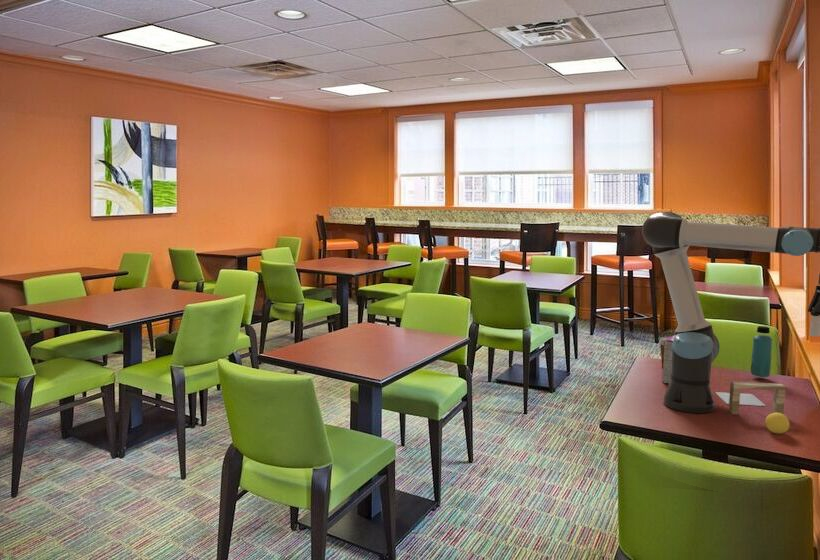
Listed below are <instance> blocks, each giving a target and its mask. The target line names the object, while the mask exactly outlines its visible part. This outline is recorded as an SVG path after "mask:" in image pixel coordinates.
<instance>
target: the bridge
mask: <svg viewBox="0 0 820 560" xmlns="http://www.w3.org/2000/svg"><path fill="white" fill-rule="evenodd" d="M741 389H744V390H745V389H750V390H768V391H774V393H773V402H772V413H781V414H783V415H785V414H784V411H785V403H786V391H787V390H786V389H787V386H786V385H784V384H782V383H771V382H770V383H769V382H749V381H748V382H747V381H731V380H730V387H729V393H730V398H729V404H728V412H729V413H730V414H732V415H739V414H740V413H739V411H740V405H739V402H740V393H741V391H742V390H741Z"/></svg>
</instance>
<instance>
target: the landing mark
mask: <svg viewBox="0 0 820 560" xmlns="http://www.w3.org/2000/svg"><path fill="white" fill-rule="evenodd" d="M714 393H715V394H716V395H717V396H718V397H719V398H720V399H721V400H722V401H723V402H724V403H725V404H726V405H729V398H730V392H723V391H718V392H717V391H715V392H714ZM739 406H753V407H754V406H755V407H757V406H758V407H767V406H766V404H765V403H763V402H762V401H761V400H760V399H758V398H757V397H756V396H755V395H754V394H752V393H741V392H740V402H739Z"/></svg>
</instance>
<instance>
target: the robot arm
mask: <svg viewBox="0 0 820 560" xmlns="http://www.w3.org/2000/svg"><path fill="white" fill-rule="evenodd" d="M641 234H642V237H643V240H644V241H645V243H646V244H647V245H650V246H651V248H652V251H653V252H652V253H653V255H654V256H655V257H656V258H658V259H659V260H660V263H661V268H662V271H663V273H664V277H665V281H666V285H667V288H668V289H667V290H668V292H669V297H670V300H671V303H672V307H673V311H674V313H675V317H676V321H677V324H678V325H677V327H676V328H675V330H674V332H675V335H676V336H675V337H674V341H673V344H672V348H673V352H672V368H671V381H670V383H669V384H668V386H667V388H666V390H665V393H664V395H663V404H664V405H665V406H666V407H668V408H670V409H672V410H675V411H680V412H683V413H684V412H685V413H690V414H708V413H711V412H713V411H714V410H715V400H714V396H713V392H712V389H711V387H710V386H711V385H710V384H711V375H712V374H711V370H712V363H713V362H714V361H715V359H717V357H718V355H719V354H720V353H719V352H720V342H719V339H718V337H717V335H716V334H715V332H714V329H713V326H712V323H711V322H710V321H708V320H706V319H705V315H704V312H703V308H702V305H701V300H700V298H699V294H698V290H697V287H696V284H695V279H694V275H693V272H692V271H693V270H692V269H691V265H690V261H689V257H688V254H687V251H688V250H689V247H692V246H693V247H704V248H705V247H706V248H716V249H728V250H729V249H730V250H737V251H738V250H741V251H749V252H751V251H752V252H763V253H774V254H775V253H777V254H781V255H782V254H783V255H784V254H786V255H790V256H794V257H795V256H796V257H800V256H803V255H805V254H808V253H817V254H818V253H820V227H818V228H817V227H801V226H800V227H799V226H781V227H773V226H771V227H770V226H757V225H745V224H744V225H743V224H732V223H730V224H729V223H728V224H727V223H713V222H700V221H688V220H687V218H686V217H682V216H680V215H679V214H677V213H675V212H670V211H665V212H658V213H654V214H651V215H649V217H647V218H646V219H645V221H643V224H642V228H641ZM817 283H818V285H816V286H815V292H814V293H813V295H812V298H811V301H810V304H809V305H808V308H807V312H808V313H810V316H811V318H810V328H809V334H808V335H809V336H810V337H820V273H819V274H818V282H817Z"/></svg>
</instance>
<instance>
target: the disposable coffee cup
mask: <svg viewBox="0 0 820 560" xmlns="http://www.w3.org/2000/svg"><path fill="white" fill-rule="evenodd" d="M670 337H671V336H662V337H661V338H660V339H659V345H660V359H661V361H660V362H661V369H663V361H664V340H666V339H668V338H670Z"/></svg>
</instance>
